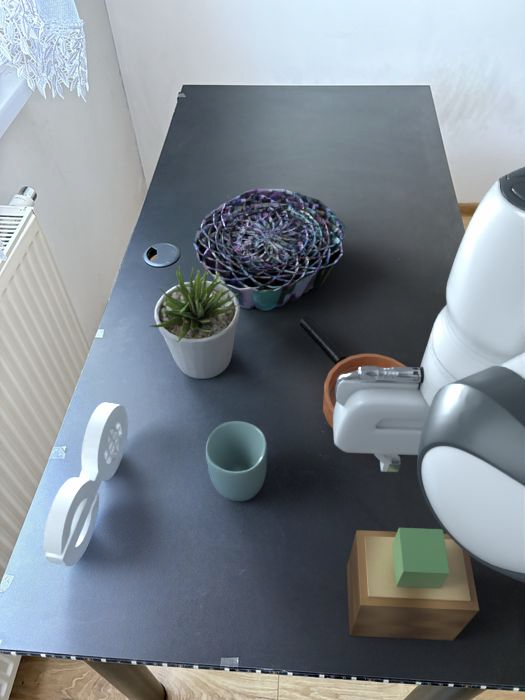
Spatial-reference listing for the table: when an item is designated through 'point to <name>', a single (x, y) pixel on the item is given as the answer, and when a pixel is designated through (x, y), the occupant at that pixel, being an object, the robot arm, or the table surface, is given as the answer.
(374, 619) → the box
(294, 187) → the table surface
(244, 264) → the decorative bowl
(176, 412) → the table surface
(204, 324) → the potted plant
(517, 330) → the robot arm
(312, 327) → the pan handle
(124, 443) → the white lobed panel
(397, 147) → the table surface
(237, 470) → the cup
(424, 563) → the block
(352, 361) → the pan
